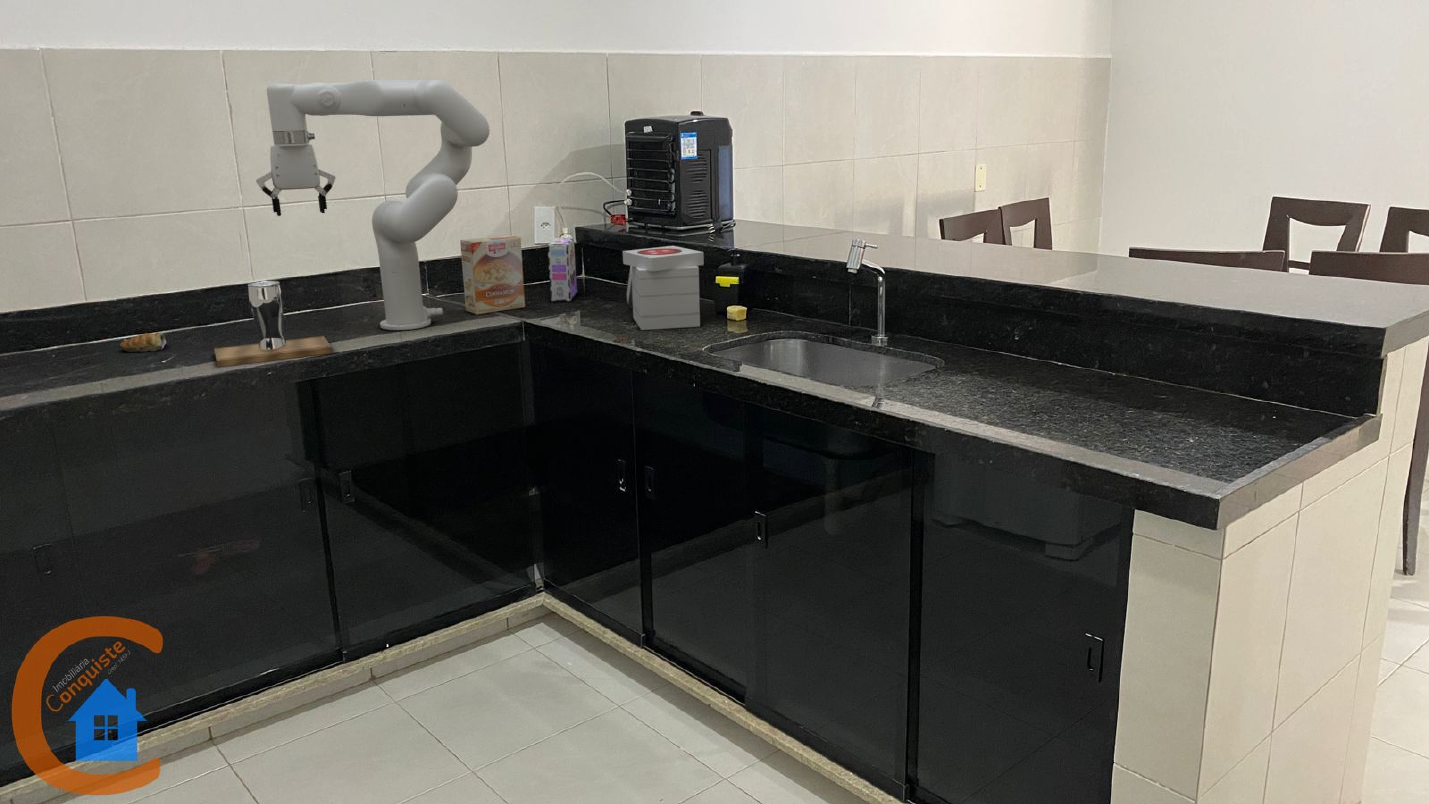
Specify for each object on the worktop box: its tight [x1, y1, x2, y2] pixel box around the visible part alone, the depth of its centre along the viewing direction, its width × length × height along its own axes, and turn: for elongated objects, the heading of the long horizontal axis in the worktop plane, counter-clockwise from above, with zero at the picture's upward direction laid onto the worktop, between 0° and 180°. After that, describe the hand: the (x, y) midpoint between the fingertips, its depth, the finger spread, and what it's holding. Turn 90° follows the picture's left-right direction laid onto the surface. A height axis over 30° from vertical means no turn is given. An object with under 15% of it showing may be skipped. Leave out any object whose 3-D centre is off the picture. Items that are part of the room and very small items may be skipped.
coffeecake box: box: [459, 234, 526, 316], centre depth 278 cm, size 15×7×20 cm, turn 129°
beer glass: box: [247, 280, 287, 351], centre depth 233 cm, size 7×7×15 cm
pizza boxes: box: [622, 245, 705, 331], centre depth 263 cm, size 19×30×18 cm, turn 12°
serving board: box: [213, 335, 333, 368], centre depth 235 cm, size 24×13×2 cm, turn 118°
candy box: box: [547, 237, 578, 302], centre depth 293 cm, size 14×6×16 cm, turn 179°
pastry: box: [119, 331, 167, 353], centre depth 242 cm, size 9×7×4 cm
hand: (301, 214), depth 241 cm, fingers open, 9 cm apart
